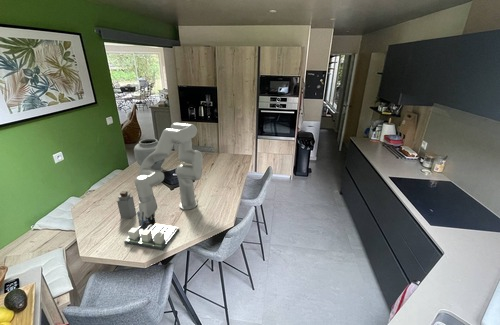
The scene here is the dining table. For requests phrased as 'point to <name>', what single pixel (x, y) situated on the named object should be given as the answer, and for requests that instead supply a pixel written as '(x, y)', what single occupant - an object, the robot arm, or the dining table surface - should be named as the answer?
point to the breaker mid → (146, 235)
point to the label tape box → (141, 218)
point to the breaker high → (159, 237)
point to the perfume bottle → (126, 205)
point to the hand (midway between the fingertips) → (152, 223)
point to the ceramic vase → (147, 152)
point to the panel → (168, 232)
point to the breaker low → (133, 233)
